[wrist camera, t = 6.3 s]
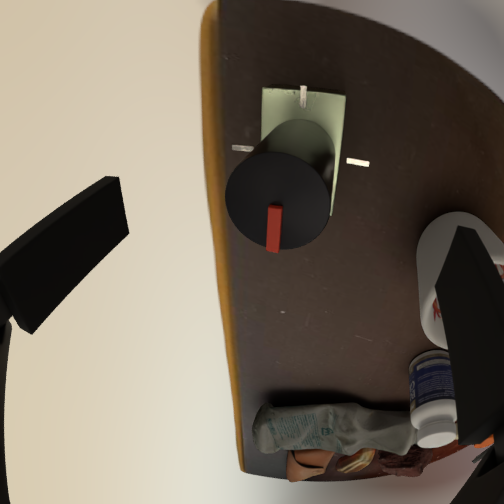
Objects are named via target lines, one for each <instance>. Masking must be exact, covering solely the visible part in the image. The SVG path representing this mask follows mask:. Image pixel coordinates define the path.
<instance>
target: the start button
mask: <svg viewBox="0 0 504 504" xmlns="http://www.w3.org/2000/svg"><path fill="white" fill-rule="evenodd" d="M493 443H494V439H493V434H492V435H491V436H490V437H489V438H487V439H486V440H485V441H484V442H482V443H481V444H474V447H475V448H483V447H486V446H489V445H490V444H493Z"/></svg>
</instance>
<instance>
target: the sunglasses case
mask: <svg viewBox="0 0 504 504" xmlns="http://www.w3.org/2000/svg"><path fill="white" fill-rule="evenodd" d="M334 453H335V452H333V451H327V450H322V449H302V450H288V456H287V466H286V476H287V479H288V480H289V481H290V482H297V481H301V480H304V479H306V478H309V477H311V476H314V475H319V474H322V473H325V471H326V467H327V465H328V463H329V462H330V460H331V458H332V456H333V455H334Z"/></svg>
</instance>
